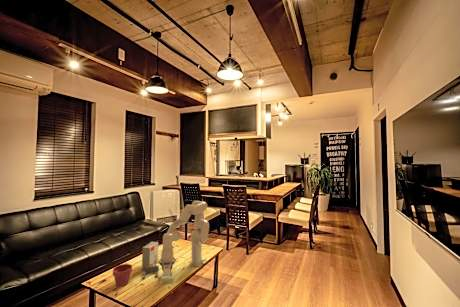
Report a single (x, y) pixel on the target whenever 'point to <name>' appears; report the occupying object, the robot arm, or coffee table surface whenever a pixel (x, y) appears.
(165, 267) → the capped cream block
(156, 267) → the bay
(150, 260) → the hard drive box
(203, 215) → the robot arm
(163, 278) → the tray
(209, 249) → the coffee table surface
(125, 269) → the plant pot
